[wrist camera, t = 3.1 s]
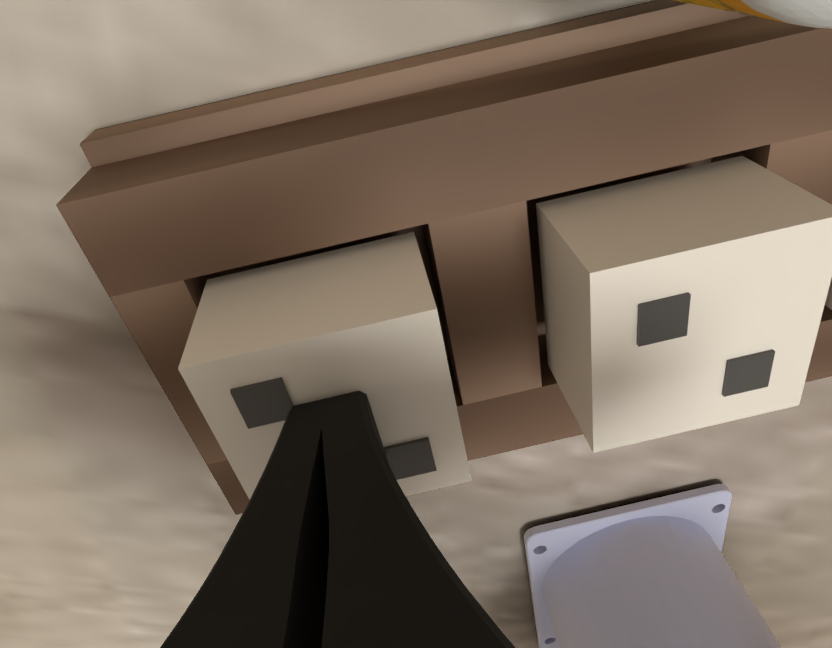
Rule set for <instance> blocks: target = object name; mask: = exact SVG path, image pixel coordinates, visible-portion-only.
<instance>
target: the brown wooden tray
mask: <svg viewBox="0 0 832 648" xmlns="http://www.w3.org/2000/svg"><path fill="white" fill-rule="evenodd" d="M80 146H81V148H82V149H83V151H84V153H85V155H86V157H87V159H88V161H89V163H90V165H91V167H92V168H91V169H90V170H89V171H88V172H87V173H86V174H85V175H84V176H83V177H82V178H81V179H80V181H79V182H78V183H77V184H76V185H75V186H74V187H73V188H72V189H71V190H70V191H69V192H68V193H67V194H66V195H65V196H64V197H63V198H62V199H61V200H60V202H59V203H58V204H57V205H56V206H57V207H58V209H59V211H60V212H61V214H62V216H63V218H64V219H65V221H66V223H67V224H68V226H69V228H70V230H71V231H72V233H73V235H74V237H75V238H76V240H77V242H78V243H79V245H80V247H81V249H82V250H83V252H84V254H85V256H86V257H87V259H88V261H89V262H90V264H91V266H92V268H93V269H94V271H95V273H96V274H97V276H98V278H99V280H100V281H101V283H102V285H103V287H104V288H105V290H106V292H107V293H108V295H109V297H110V299H111V300H112V302H113V304H114V305H115V307H116V309H117V311H118V312H119V314H120V316H121V318H122V319H123V321H124V323H125V324H126V326H127V328H128V330H129V331H130V333H131V335H132V336H133V338H134V340H135V342H136V343H137V345H138V347H139V349H140V350H141V352H142V354H143V355H144V357H145V359H146V361H147V362H148V364H149V366H150V368H151V369H152V371H153V373H154V374H155V376H156V378H157V380H158V381H159V383H160V385H161V386H162V388H163V390H164V392H165V393H166V395H167V397H168V399H169V400H170V402H171V404H172V405H173V407H174V409H175V411H176V412H177V414H178V416H179V417H180V419H181V421H182V423H183V424H184V426H185V428H186V430H187V431H188V433H189V435H190V436H191V438H192V440H193V442H194V443H195V445H196V447H197V449H198V450H199V452H200V454H201V455H202V457H203V459H204V461H205V462H206V464H207V466H208V467H209V469H210V471H211V473H212V474H213V476H214V478H215V480H216V481H217V483H218V485H219V486H220V488H221V490H222V492H223V493H224V495H225V497H226V498H227V500H228V502H229V504H230V505H231V507H232V509H233V511H234V512H235V514H241V513H243V512H244V511H245V509H246V507H247V505H248V503H249V498H248V496H247V494H246V492H245V491H244V489H243V487H242V485H241V483H240V481H239V480H238V478H237V476H236V474H235V472H234V470H233V469H232V467H231V465H230V463H229V461H228V460H227V458H226V456H225V454H224V452H223V450H222V449H221V447H220V445H219V443H218V441H217V439H216V438H215V436H214V434H213V432H212V430H211V428H210V427H209V425H208V423H207V421H206V419H205V417H204V416H203V414H202V412H201V410H200V408H199V406H198V405H197V403H196V401H195V399H194V397H193V395H192V394H191V392H190V390H189V388H188V386H187V384H186V383H185V381H184V379H183V377H182V375H181V373H180V372H179V370H178V367H179V364H180V361H181V358H182V355H183V352H184V349H185V346H186V343H187V340H188V336H189V333H190V330H191V327H192V324H193V321H194V318H195V315H196V312H197V309H198V306H199V303H200V300H201V297H202V294H203V290H204V287H205V284H206V281H207V279H212V278H216V277H220V276H225V275H229V274H233V273H237V272H242V271H246V270H250V269H255V268H259V267H263V266H268V265H272V264H276V263H281V262H285V261H289V260H294V259H298V258H302V257H307V256H311V255H315V254H320V253H324V252H328V251H332V250H337V249H341V248H345V247H350V246H354V245H358V244H363V243H367V242H371V241H376V240H380V239H384V238H389V237H393V236H397V235H402V234H406V233H410V232H414V234H415V237H416V240H417V244H418V247H419V250H420V254H421V257H422V260H423V264H424V267H425V270H426V274H427V277H428V280H429V284H430V287H431V290H432V294H433V297H434V300H435V304H436V307H437V311H438V316H439V321H440V326H441V331H442V336H443V341H444V346H445V351H446V356H447V361H448V366H449V371H450V376H451V381H452V386H453V391H454V396H455V401H456V406H457V411H458V416H459V421H460V426H461V431H462V435H463V440H464V445H465V450H466V455H467V460H468V461H469V460H473V459H477V458H482V457H486V456H490V455H494V454H499V453H503V452H507V451H512V450H516V449H520V448H525V447H529V446H533V445H537V444H542V443H546V442H550V441H555V440H559V439H563V438H568V437H572V436H576V435H581V434H583V432H582V430H581V428H580V426H579V424H578V422H577V420H576V418H575V416H574V414H573V412H572V410H571V408H570V407H569V405H568V403H567V401H566V399H565V397H564V395H563V393H562V391H561V389H560V387H559V385H558V383H557V381H556V379H555V377H554V375H553V373H552V372H551V370H550V368H549V366H548V357H547V344H546V330H545V317H544V304H543V290H542V277H541V264H540V250H539V237H538V224H537V210H536V203H540V202H544V201H548V200H553V199H557V198H561V197H566V196H570V195H574V194H579V193H583V192H587V191H592V190H596V189H600V188H605V187H609V186H613V185H618V184H622V183H626V182H630V181H635V180H639V179H643V178H648V177H652V176H656V175H661V174H665V173H669V172H674V171H678V170H682V169H687V168H691V167H695V166H700V165H704V164H708V163H713V162H717V161H721V160H725V159H730V158H734V157H738V156H744V157H746V158H748V159H749V160H751V161H753V162H755V163H757V164H759V165H760V166H762V167H764V168H766V169H768V170H770V171H771V172H773V173H775V174H777V175H779V176H780V177H782V178H784V179H786V180H788V181H790V182H791V183H793V184H795V185H797V186H799V187H801V188H802V189H804V190H806V191H808V192H810V193H812V194H813V195H815V196H817V197H819V198H821V199H822V200H824V201H826V202H828V203H830V204H832V29H827V28H813V27H807V26H800V25H794V24H789V23H784V22H779V21H774V20H769V19H765V18H760V17H755V16H750V15H743V14H738V13H734V12H730V11H725V10H721V9H715V8H710V7H705V6H700V5H695V4H690V3H685V2H680V1H675V0H656V1H651V2H647V3H643V4H638V5H634V6H630V7H625V8H621V9H617V10H612V11H608V12H604V13H599V14H595V15H591V16H586V17H582V18H578V19H573V20H569V21H565V22H560V23H556V24H552V25H548V26H543V27H539V28H535V29H530V30H526V31H522V32H517V33H513V34H509V35H504V36H500V37H496V38H491V39H487V40H483V41H478V42H474V43H470V44H465V45H461V46H457V47H452V48H448V49H444V50H439V51H435V52H431V53H426V54H422V55H418V56H413V57H409V58H405V59H400V60H396V61H392V62H387V63H383V64H379V65H374V66H370V67H366V68H361V69H357V70H353V71H348V72H344V73H340V74H335V75H331V76H327V77H322V78H318V79H314V80H309V81H305V82H301V83H296V84H292V85H288V86H283V87H279V88H275V89H270V90H266V91H262V92H257V93H253V94H249V95H244V96H240V97H236V98H231V99H227V100H223V101H218V102H214V103H210V104H205V105H201V106H197V107H192V108H188V109H184V110H179V111H175V112H171V113H166V114H162V115H158V116H153V117H149V118H145V119H140V120H136V121H132V122H127V123H123V124H119V125H114V126H110V127H106V128H101V129H97V130H95V131H94V132H92V133H91V134H90V135H89V136H88V137H87V138H86V139H85V140H84V141H82V142H81V143H80ZM830 376H832V310H831V309H830V308H828V307H827V306H826V305H824V309H823V313H822V317H821V321H820V325H819V329H818V333H817V337H816V341H815V345H814V348H813V352H812V356H811V360H810V364H809V368H808V372H807V376H806V380H805V382H809V381H813V380H817V379H821V378H826V377H830Z"/></svg>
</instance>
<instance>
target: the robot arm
mask: <svg viewBox="0 0 832 648" xmlns="http://www.w3.org/2000/svg"><path fill="white" fill-rule="evenodd" d="M731 499H732V493H731V492H730V490H729V489H728V487H727V486H726V485H723V484H715V485H710V486H706V487H702V488H697V489H693V490H689V491H684V492H680V493H676V494H672V495H667V496H663V497H659V498H654V499H650V500H646V501H641V502H637V503H633V504H629V505H624V506H620V507H616V508H611V509H607V510H603V511H599V512H594V513H590V514H586V515H581V516H577V517H573V518H568V519H564V520H560V521H556V522H551V523H547V524H543V525H538V526H535V527H532V528H530V529H528V530H527V531H526V533H525V534H524V543H525V550H526V558H527V565H528V572H529V580H530V587H531V595H532V602H533V609H534V617H535V624H536V632H537V639H538V646H539V648H781V646H780V644H779V643H778V641H777V640H776V638H775V636H774V635H773V633H772V632H771V630H770V629H769V627H768V625H767V624H766V622H765V621H764V619H763V618H762V616H761V614H760V613H759V611H758V610H757V608H756V607H755V605H754V603H753V602H752V600H751V599H750V597H749V596H748V594H747V592H746V591H745V589H744V588H743V586H742V585H741V583H740V581H739V580H738V578H737V577H736V575H735V574H734V572H733V570H732V569H731V567H730V566H729V564H728V563H727V561H726V559H725V558H724V556H723V555H722V553H721V552H722V547H723V541H724V536H725V531H726V526H727V520H728V515H729V510H730V504H731ZM160 648H515V647H514V646H513V645H512V643H511V642H510V641H509V640H508V639H507V638H506V637H505V635H504V634H503V633H502V632H501V630H500V629H499V628H498V627H497V625H496V624H495V623H494V622H493V620H492V619H491V618H490V617H489V615H488V614H487V613H486V612H485V610H484V609H483V608H482V607H481V605H480V604H479V603H478V602H477V600H476V599H475V598H474V597H473V596H472V594H471V593H470V592H469V591H468V589H467V588H466V587H465V585H464V584H463V583H462V581H461V580H460V579H459V577H458V576H457V574H456V573H455V572H454V570H453V569H452V568H451V566H450V565H449V563H448V562H447V561H446V559H445V558H444V556H443V555H442V553H441V552H440V551H439V549H438V548H437V546H436V545H435V543H434V542H433V540H432V539H431V537H430V536H429V534H428V533H427V531H426V530H425V528H424V526H423V525H422V523H421V522H420V520H419V518H418V517H417V515H416V514H415V512H414V510H413V508H412V507H411V505H410V503H409V502H408V500H407V498H406V497H405V495H404V493H403V491H402V489H401V488H400V486H399V484H398V482H397V480H396V478H395V476H394V474H393V472H392V470H391V468H390V466H389V464H388V460H387V457H386V454H385V450H384V447H383V444H382V441H381V438H380V435H379V431H378V428H377V425H376V422H375V419H374V416H373V413H372V409H371V406H370V403H369V400H368V397H367V394H365V393H363V392H361V391H355V392H351V393H346V394H342V395H338V396H333V397H329V398H325V399H321V400H316V401H312V402H308V403H303V404H299V405H295V406H293V407H292V408H291V409H290V411H289V413H288V415H287V418H286V420H285V423H284V425H283V428H282V430H281V432H280V435H279V437H278V440H277V442H276V444H275V447H274V449H273V451H272V454H271V456H270V458H269V460H268V463H267V465H266V467H265V469H264V471H263V473H262V476H261V478H260V480H259V482H258V484H257V486H256V488H255V490H254V492H253V494H252V496H251V498H250V500H249V503H248V505H247V507H246V509H245V511H244V512H243V514H242V516H241V518H240V520H239V522H238V524H237V525H236V527H235V529H234V531H233V533H232V535H231V536H230V538H229V540H228V542H227V544H226V546H225V547H224V549H223V551H222V553H221V555H220V557H219V558H218V560H217V562H216V563H215V565H214V567H213V568H212V570H211V572H210V573H209V575H208V577H207V578H206V580H205V582H204V583H203V585H202V586H201V588H200V590H199V591H198V593H197V594H196V596H195V597H194V599H193V601H192V602H191V604H190V605H189V607H188V608H187V610H186V611H185V613H184V614H183V616H182V617H181V619H180V620H179V622H178V623H177V625H176V626H175V628H174V629H173V630H172V632H171V633H170V635H169V636H168V637H167V639H166V640H165V642H164V643H163V645H162V646H161V647H160Z"/></svg>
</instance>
